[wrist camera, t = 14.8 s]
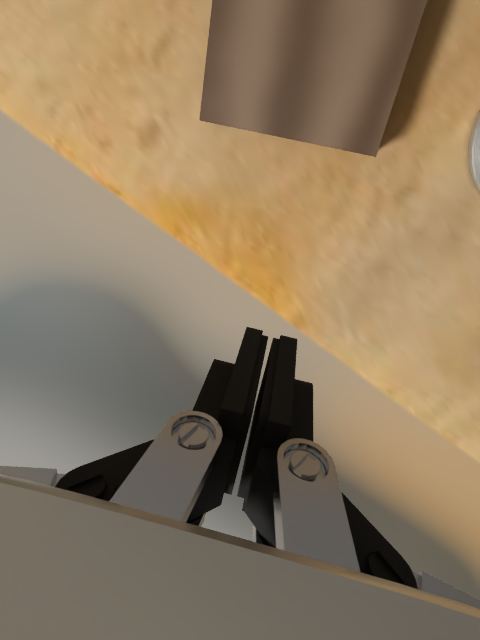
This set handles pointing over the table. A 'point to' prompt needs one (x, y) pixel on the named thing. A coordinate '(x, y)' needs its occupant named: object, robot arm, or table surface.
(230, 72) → the walnut board
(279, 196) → the table surface
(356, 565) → the robot arm
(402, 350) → the table surface
